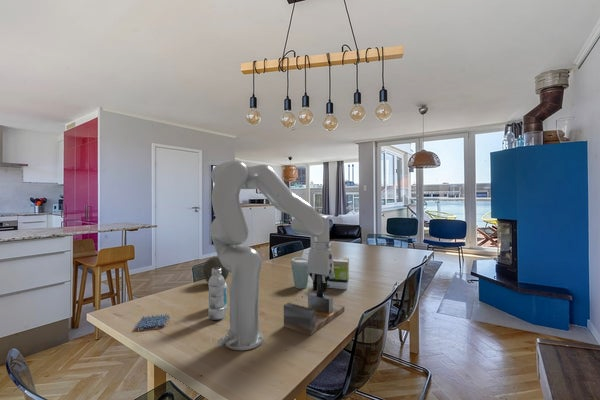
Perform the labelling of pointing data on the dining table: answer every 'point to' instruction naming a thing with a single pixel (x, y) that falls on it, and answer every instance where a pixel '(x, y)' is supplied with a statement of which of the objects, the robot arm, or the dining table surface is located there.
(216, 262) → the cantaloupe
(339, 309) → the press base
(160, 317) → the woven mat
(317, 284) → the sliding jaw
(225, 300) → the pill bottle
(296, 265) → the disposable coffee cup
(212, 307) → the plastic bottle
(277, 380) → the dining table surface
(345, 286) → the tea box
